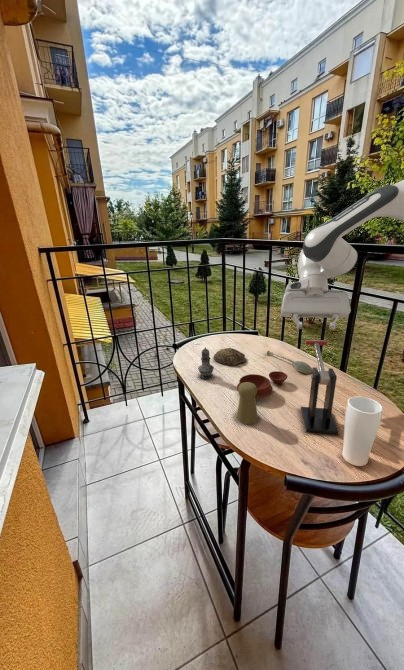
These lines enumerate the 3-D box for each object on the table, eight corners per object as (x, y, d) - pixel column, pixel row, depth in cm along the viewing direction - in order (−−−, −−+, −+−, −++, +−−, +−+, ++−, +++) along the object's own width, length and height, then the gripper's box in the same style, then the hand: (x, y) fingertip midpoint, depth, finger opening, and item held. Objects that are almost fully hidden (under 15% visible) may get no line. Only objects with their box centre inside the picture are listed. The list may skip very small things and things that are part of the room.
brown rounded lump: (209, 359, 119) (209, 348, 117) (229, 350, 127) (229, 340, 125) (231, 369, 110) (231, 357, 108) (251, 359, 118) (252, 348, 116)
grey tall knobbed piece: (195, 376, 105) (193, 347, 101) (205, 371, 109) (204, 342, 105) (206, 381, 102) (205, 351, 97) (217, 375, 106) (216, 346, 101)
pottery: (229, 391, 95) (229, 379, 94) (271, 374, 105) (272, 363, 104) (253, 407, 86) (253, 395, 84) (297, 387, 96) (298, 376, 94)
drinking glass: (376, 460, 65) (389, 405, 60) (361, 475, 61) (373, 418, 56) (348, 444, 70) (357, 392, 65) (332, 456, 66) (341, 402, 61)
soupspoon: (303, 377, 103) (315, 373, 106) (305, 369, 102) (316, 365, 105) (262, 355, 121) (273, 352, 124) (263, 348, 119) (274, 345, 123)
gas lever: (304, 343, 86) (305, 337, 85) (325, 344, 85) (327, 338, 83) (311, 384, 74) (313, 378, 72) (336, 385, 73) (337, 379, 71)
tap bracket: (300, 410, 84) (305, 362, 78) (329, 412, 82) (336, 363, 77) (305, 432, 75) (311, 380, 69) (338, 435, 73) (346, 382, 68)
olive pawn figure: (236, 410, 85) (237, 378, 81) (257, 411, 84) (258, 379, 80) (236, 423, 79) (236, 390, 75) (258, 425, 78) (259, 390, 74)
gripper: (344, 295, 91) (349, 334, 86) (280, 295, 95) (280, 332, 90) (351, 284, 86) (356, 324, 80) (282, 284, 90) (282, 323, 84)
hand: (315, 328), depth 85 cm, fingers open, 8 cm apart
